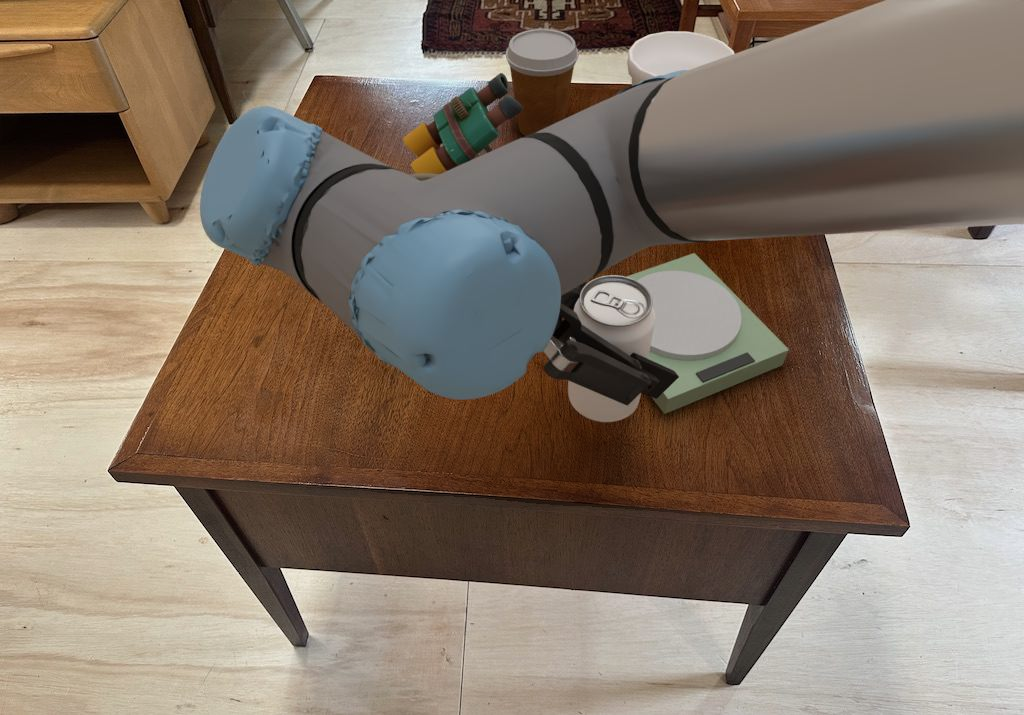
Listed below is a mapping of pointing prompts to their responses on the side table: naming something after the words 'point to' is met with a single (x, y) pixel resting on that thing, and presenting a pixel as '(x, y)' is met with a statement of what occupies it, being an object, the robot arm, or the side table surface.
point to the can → (613, 335)
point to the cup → (672, 53)
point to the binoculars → (462, 128)
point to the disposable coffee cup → (541, 76)
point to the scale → (704, 332)
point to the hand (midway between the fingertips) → (642, 356)
